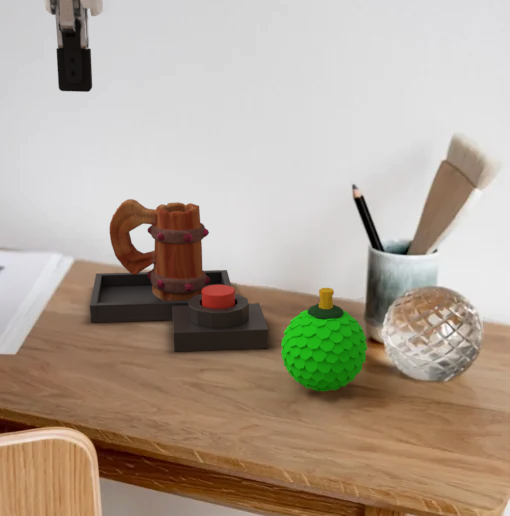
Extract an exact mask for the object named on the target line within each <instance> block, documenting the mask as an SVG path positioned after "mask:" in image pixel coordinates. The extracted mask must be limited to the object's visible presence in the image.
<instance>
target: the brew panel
mask: <svg viewBox="0 0 510 516" xmlns="http://www.w3.org/2000/svg"><path fill="white" fill-rule="evenodd" d="M172 319H173V320H172V335H173V336H172V337H173V351H174V353H178V352H202V351H203V352H204V351H227V350H231V351H232V350H256V349H257V350H258V349H260V350H261V349H269V327H268V325H267V322H266V318H265V315H264V312H263V309H262V306H261V304H260V302H257V303H256V302H255V303H250V302H249V300H248V298H247V297H245V296H244V295H241V294H239V293H235V306H233V307H229V308H225V309H213V308H207V307H204V306H202V294H199V295H195V296H194V297H192V298H191V299H189V300H188V306H172Z"/></svg>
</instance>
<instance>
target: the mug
mask: <svg viewBox="0 0 510 516" xmlns="http://www.w3.org/2000/svg"><path fill="white" fill-rule="evenodd" d="M200 214H201V213H200V205H198V204H194V203H191V202H189V203H186V204H185V203H183V202H168V203H167V204H165V203H163V204H159V205H158V206H157V207H156V208H155V209H154V208H148V207H146V206H144V205H142V203H140V202H139V201H138V200H136V199H133V198H129V199H126V200H124V201H123V202H121V203H120V205H119V206H118V207H117V208H116V210H115V212H114V213H113V214H112V218H111V219H110V223H109V238H110V244H111V246H112V250H113V253H114V256H115V257H116V259H117V260H118V262H119V263H120V264H121V266H123V268H124V269H126V271H127V272H128V273H131V274H133V275H136V274H138V273H139V272H143V271H144V270H145V269H147V268H149V267H150V266H151V265H153V267H152V269H151V270H148V271H147V272H148V273H147V277H148V278H149V279H151V283H152V292H153V294H154V295H155V296H156V297H157V298H159V299H160V300H162V301H181V300H189V299H191V298H192V297H194V296H195V295H199V294H202V289H203V288H204V287H205V286H206V285H208V284H209V283H210V278H209V277H208V276H206V273H205V272H204V271H205V270H204V269H203V245H202V240H203V239H204V238H206V237H207V236H208V235H209V234H210V232H209V229H207V228H206V226H205V224H203V223H202V222H201V215H200ZM143 224H144V225H149V227H148V228H147V230H146V231H147V233H148V234H149V235H151V238H152V239H154V249H153V250H151V251H147V252H142V251H140V250H138V249H137V248H136V246H135V245H134V243H133V242H132V237H131V234H130V232H131V231H133V230H135V229H137V228H138V227H141V226H142V225H143Z"/></svg>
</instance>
